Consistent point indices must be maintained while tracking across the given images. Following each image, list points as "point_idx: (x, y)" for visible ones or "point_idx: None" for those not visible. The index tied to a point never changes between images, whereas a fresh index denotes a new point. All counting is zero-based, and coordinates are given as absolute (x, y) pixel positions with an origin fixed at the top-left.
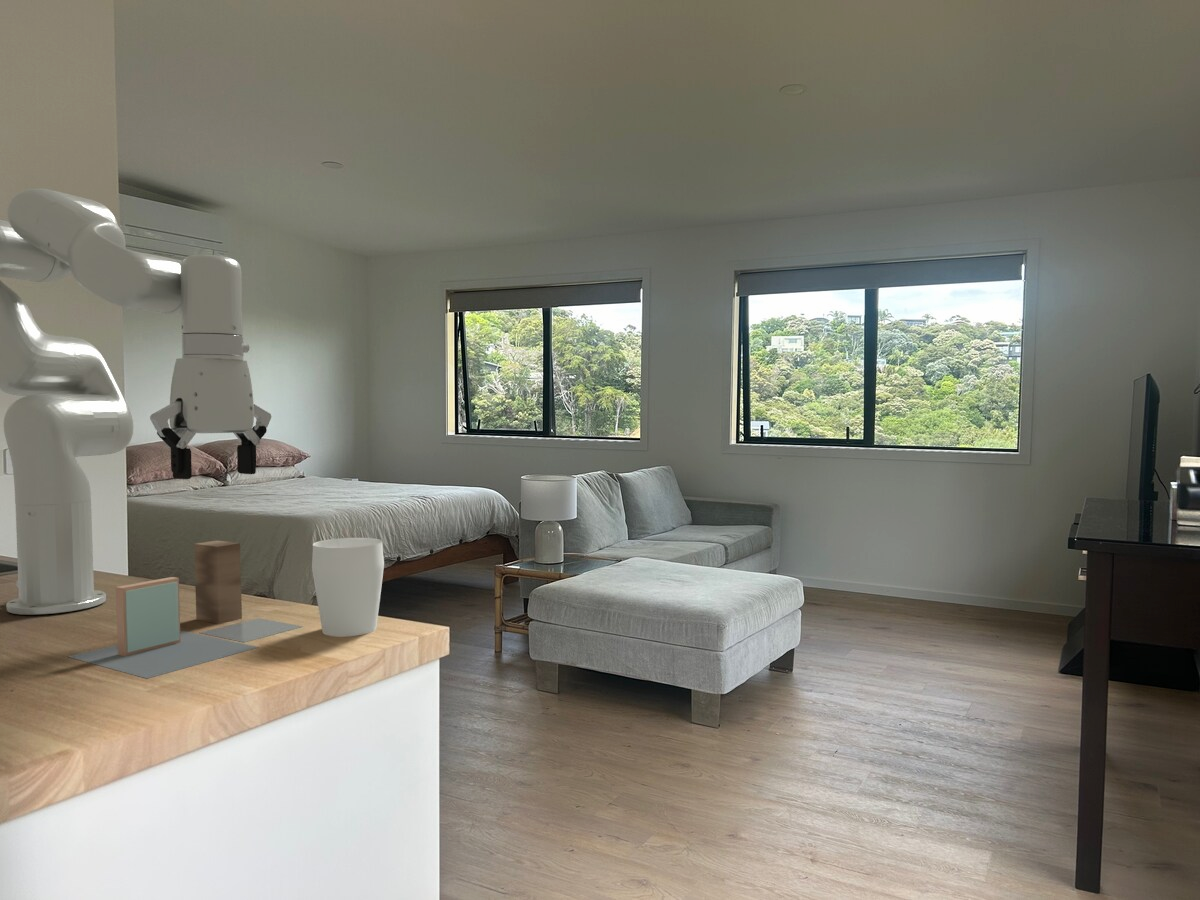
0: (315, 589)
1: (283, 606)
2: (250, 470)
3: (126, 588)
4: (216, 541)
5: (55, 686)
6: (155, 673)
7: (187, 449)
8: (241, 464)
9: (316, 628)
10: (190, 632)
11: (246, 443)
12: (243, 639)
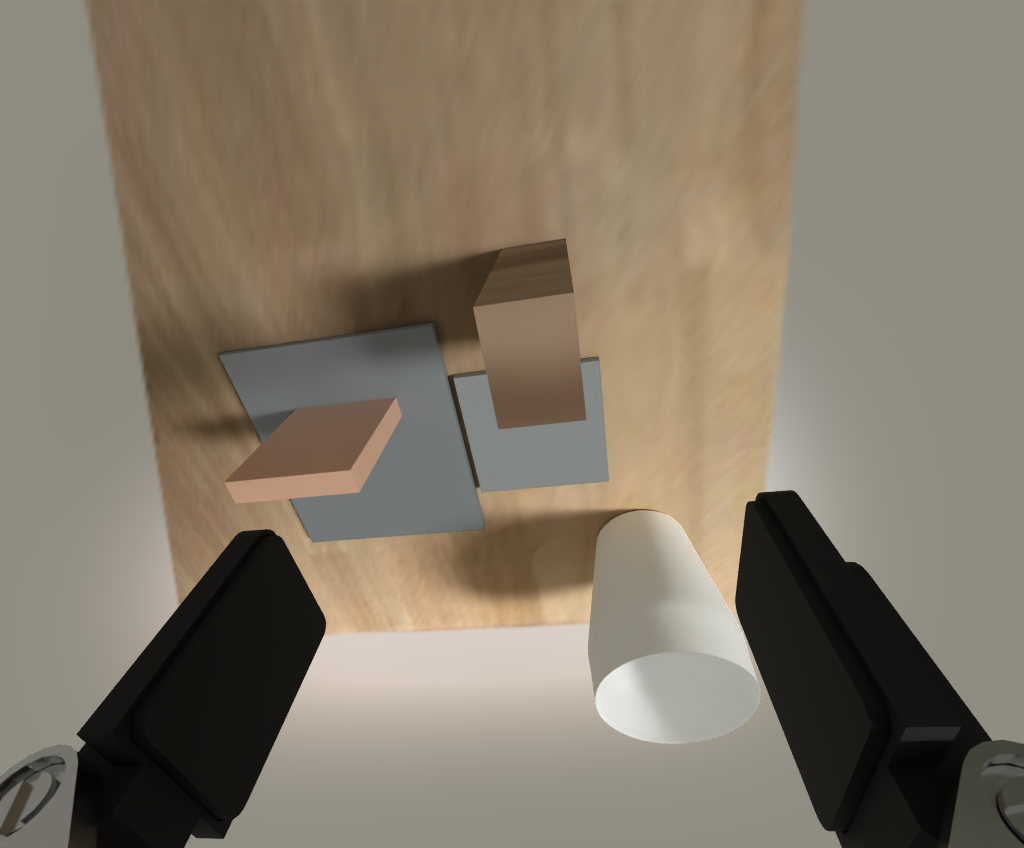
0: (598, 591)
1: (747, 245)
2: (741, 622)
3: (245, 502)
4: (556, 318)
5: (210, 464)
6: (325, 532)
7: (206, 828)
8: (768, 584)
9: (635, 477)
10: (441, 363)
11: (876, 842)
12: (489, 477)
